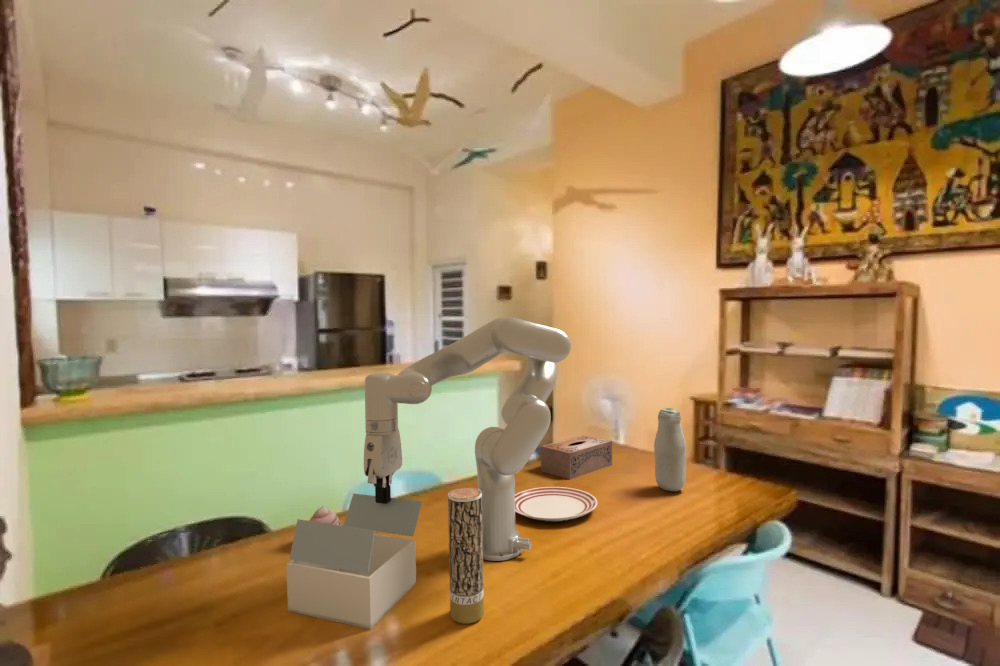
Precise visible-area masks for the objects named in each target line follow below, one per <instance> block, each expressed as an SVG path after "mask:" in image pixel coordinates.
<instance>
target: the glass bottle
mask: <svg viewBox="0 0 1000 666" xmlns="http://www.w3.org/2000/svg"><path fill="white" fill-rule="evenodd" d="M681 417H682V416H681V412H680V411H679V410H678V409H675V408H674V407H672V408H671V407H663V408H662V409H660V410H659V412H658V415H657V421H658V422H657V425H658V426H657V431H656V434H655V439H654V443H653V444H654V445H653V448H654V449H653V450H654V451H653V453H654V454H653V455H654V474H655V475H654V476H655V482H656V483H657V486H658V487H659V488H660V489H662V490H664V491H667V492H671V493H672V492H673V493H674V492H679V491H681V490H682V489H683V488H684V486H685V484H686V479H687V478H686V477H687V474H686V473H687V468H686V467H687V443H686V439H685V436H684V432H683V427H682V424H681V420H682V418H681Z"/></svg>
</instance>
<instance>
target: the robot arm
mask: <svg viewBox="0 0 1000 666" xmlns="http://www.w3.org/2000/svg"><path fill="white" fill-rule="evenodd" d="M571 345H572V343H571V340H570V337H569V336H568V335H567V333H566V332H565V331H563V330H561V329H559V328H557V327H552V326H549V325H548V326H547V325H544V324H540V323H536V322H532V321H528V320H525V319H522V318H518V317H506V316H504V317H498V318H495V319H493V320H491V321H489V322H488V323H486V324H484V325H482V326H481V327H479V328H477V329H476V330H473V332H470V333H469V334H467V335H465V336H464V337H461V338H460V339H458V340H457V341H455V342H452V343H451V344H449V345H447V346H444V347H443V348H441V349H439V350H436V351H435V352H433V353H431V354H428V355H427V356H425V357H423V358H421V359H420V360H418V361H416V362H415V363H412V364H411V365H409V366H407V367H406V368H404V369H402V370H401V371H400V372H399V373H398V374H397V375H395V374H394V373H389V372H377V373H376V372H375V373H370V374H367V376H366V377H365V379H364V409H365V411H364V413H365V415H364V418H365V420H364V421H365V423H364V424H365V426H364V427H365V438H364V446H363V472H364V475H365V476H366V477H367V484H371V485H373V487H374V488H375V489H374V491H375V492H374V494H375V495H374V496H375V501H376V503H382V504H387V503H388V502H390V501H391V498H392V497H391V496H392V495H391V485H392V483H393V482H392V481H393V475H394V474H395V473H396V472H397V471H399V470H400V469H401V468H402V466H403V451H402V440H401V439H402V438H401V435H400V430H399V419H398V418H399V414H398V413H399V412H398V411H399V409H398V407H399V405H398V404H406V405H419V404H422V403H425V402H426V401H427V400H428V399H429V398H430V396H431V395H432V391H433V390H432V389H433V386H435V385H436V384H438V383H440V382H442V381H444V380H446V379H449V378H451V377H457V376H463V375H467V374H469V373H472V372H474V371H476V370H477V369H479V368H481V367H482V366H483V365H485V364H487V363H489V362H490V361H492V360H494V359H495V358H497V357H499V356H500V355H502V354H503V353H505V352H509V353H512V354H517V355H519V356H522V357H523V356H524V357H526V359H527V361H526V363H527V364H526V368H525V371H524V373H523V375H522V377H521V378H520V380H519V382H518V383H517V385H516V386H515V387H514V389H513V390H512V392H511V393H510V395H509V397H508V398H507V399H506V400H505V402H504V404H503V406H502V407H501V418H502V420H503V422H504V423H505V424H506V426H505V428H501V427H499V426H489V427H486V428H485V429H482V431H481V432H479V434H478V435H477V437H476V440H475V443H474V455H475V456H474V457H475V458H474V459H475V463H476V464H475V465H476V473H477V489H479V490H480V491H481V492H482V526H483V560H486V561H492V562H501V561H508V560H511V559H514V558H516V557H518V556H519V555H520V554H521V553H522V550H527V551H531V550H532V542H531V541H530V538H529V537H521V536H520V530H518V529H517V530H516V512H515V494H516V481H515V479H516V478H515V474H517V473H518V472H520V471H521V470H522V469H523V468H524V467H525V466H526V464H527V463H528V461H529V460H530V458H531V457H532V455H533V454H534V452H535V451H536V450H537V448H538V447H539V446H540V444H541V442H542V440H544V437H545V435H546V434H547V432H548V430H549V427H550V426H551V422H552V421H551V418H552V416H551V415H552V414H551V409H550V408H549V406H548V404H547V403H546V402H547V400H548V398H549V396H550V395H551V393H552V391H553V390H554V388H555V386H556V383H557V379H558V363H561V361H563V360H565V359H566V358H567V357H568V356H569V354H570V351H571V348H572V346H571Z"/></svg>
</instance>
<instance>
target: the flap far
mask: <svg viewBox="0 0 1000 666" xmlns="http://www.w3.org/2000/svg"><path fill="white" fill-rule="evenodd" d="M422 503H423V502H422V501H419V500H410V499H403V498H394V497H391V501H390V502H388V503H387V504H382V503H376V501H375V495H370V494H363V493H362V494H360V493H352V497H351V500H350V504H349V506H348V509H347V513H346V517H345V519H344V521H343V522H344V523H343V525H342V526H348V527H354V528H361V529H368V530H375V532H380V533H384V534H385V533H386V534H393V535H399V536H400V535H401V536H407V537H414V536H415V535H414V534H415V531H416V527H417V523H418V519H419V515H420V511H421V508H422V505H423V504H422Z"/></svg>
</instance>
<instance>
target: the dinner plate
mask: <svg viewBox="0 0 1000 666" xmlns="http://www.w3.org/2000/svg"><path fill="white" fill-rule="evenodd" d="M597 506H598V500H597V498H596V497H595V496H594V495H593V494H591V493H589V492H588V491H584V490H581V489H577V488H572V487H565V486H563V487H562V486H544V487H542V486H541V487H534V488H533V487H532V488H529V489H525V490H523V491H522V490H521V491H519V492H517V493H515V513H517V514H519V515H521V516H524V517H526V518H529V519H533V520H537V521H538V520H539V521H542V520H545V521H544V522H564V521H563V520H565V521H569V519H570V520H575V519H577V518H581V517H583V516H585V515H588V514H589V513H591V512H592V511H594V510H595V509H596V507H597Z"/></svg>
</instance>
